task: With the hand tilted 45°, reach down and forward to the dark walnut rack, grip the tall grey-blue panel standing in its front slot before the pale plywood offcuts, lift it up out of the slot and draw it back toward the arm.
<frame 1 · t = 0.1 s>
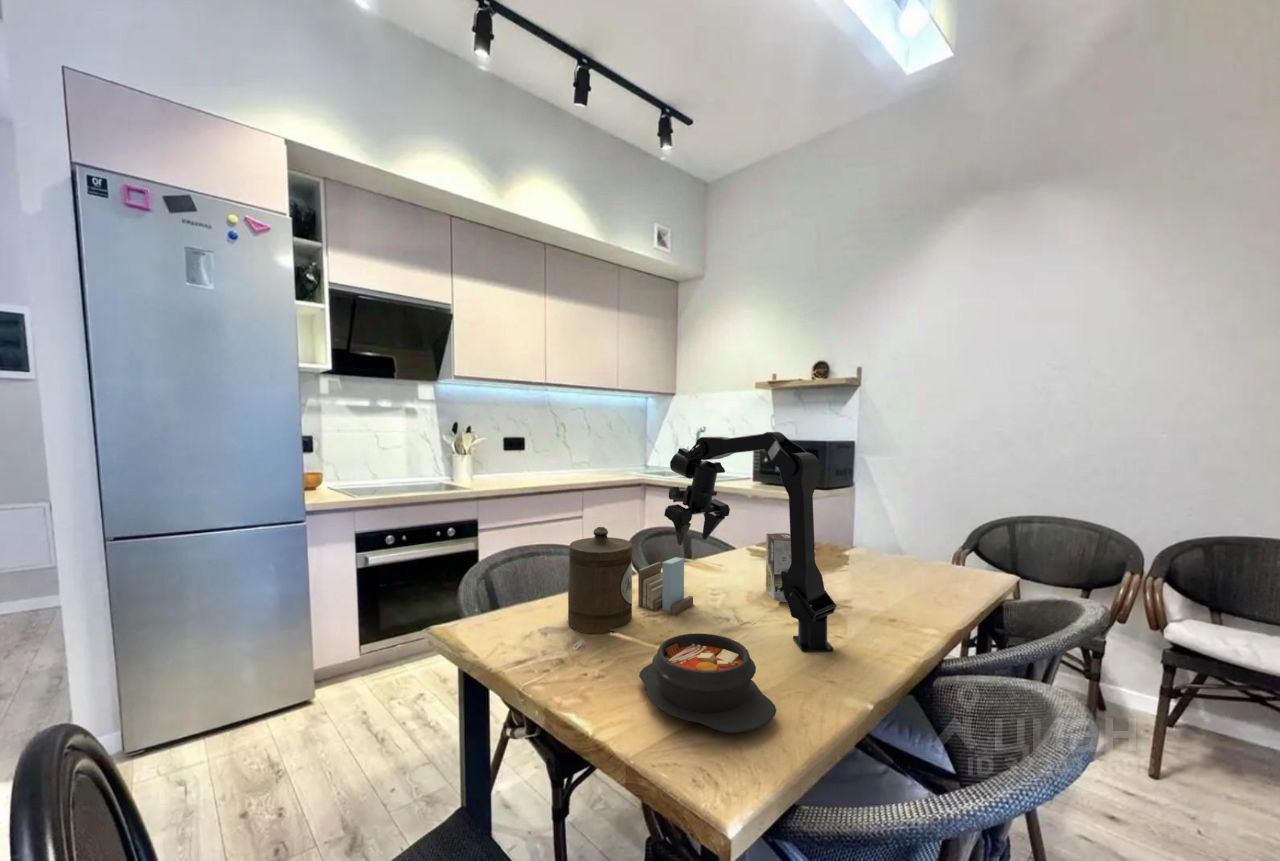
hand: (692, 541, 131), 15 cm above the table, tool pointing down, fingers open, 9 cm apart
grey-blue panel: (673, 607, 125), point 1 cm above the table, touching walnut rack
coffee box: (781, 597, 135), on the table
walnut rack: (673, 610, 125), on the table
casserole: (703, 702, 84), on the table
wooden container: (600, 622, 118), on the table
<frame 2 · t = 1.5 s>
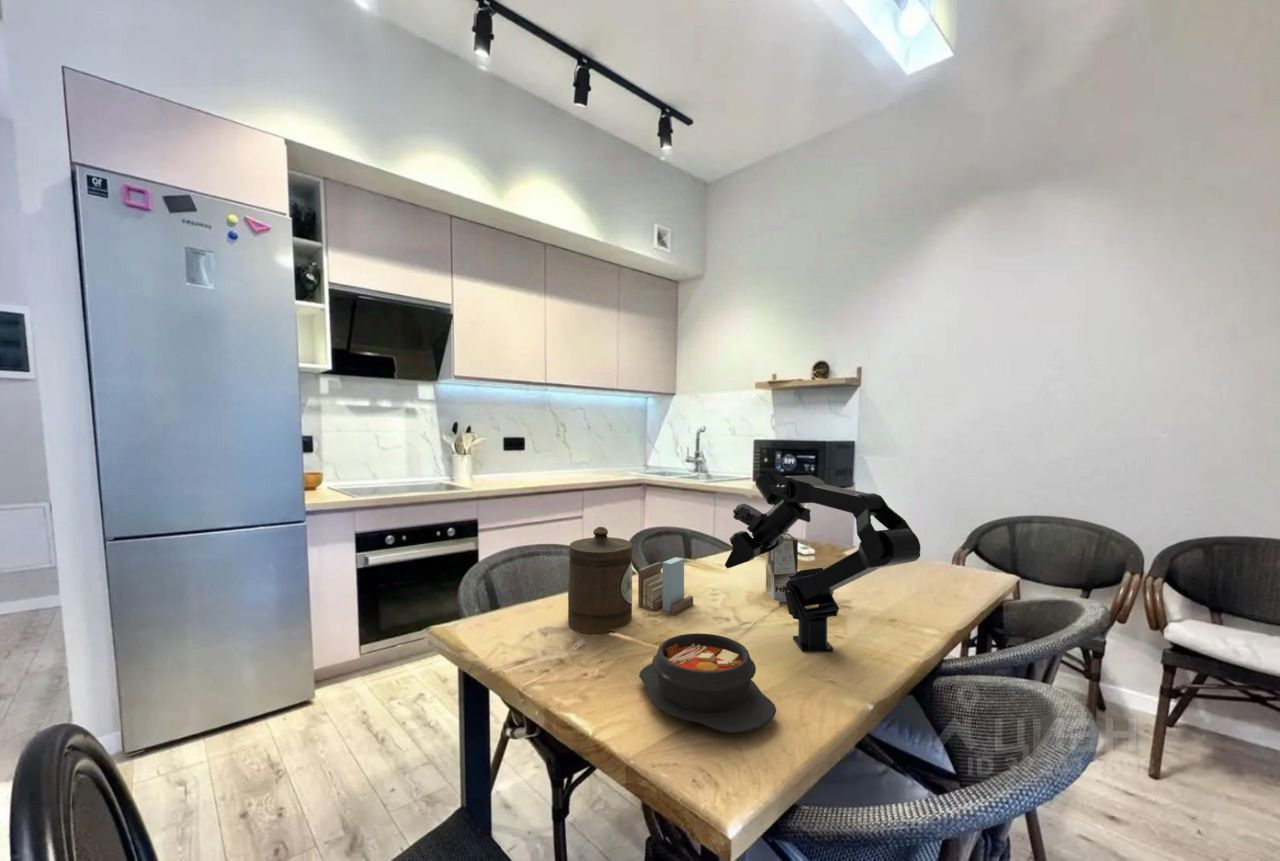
hand: (734, 562, 120), 13 cm above the table, tool tilted 45°, fingers open, 9 cm apart
nothing on the table moved.
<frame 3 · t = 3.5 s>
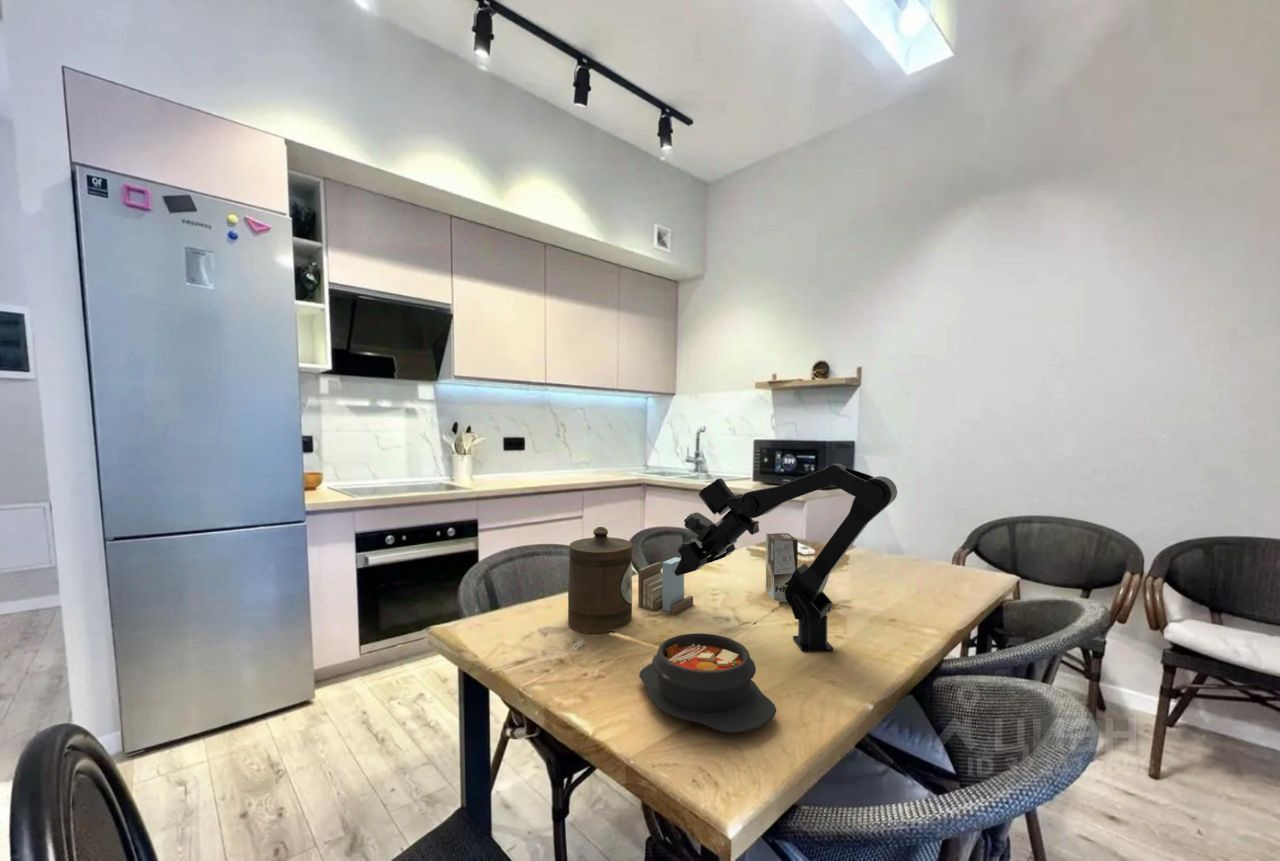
hand: (685, 569, 123), 11 cm above the table, tool tilted 45°, fingers open, 9 cm apart
nothing on the table moved.
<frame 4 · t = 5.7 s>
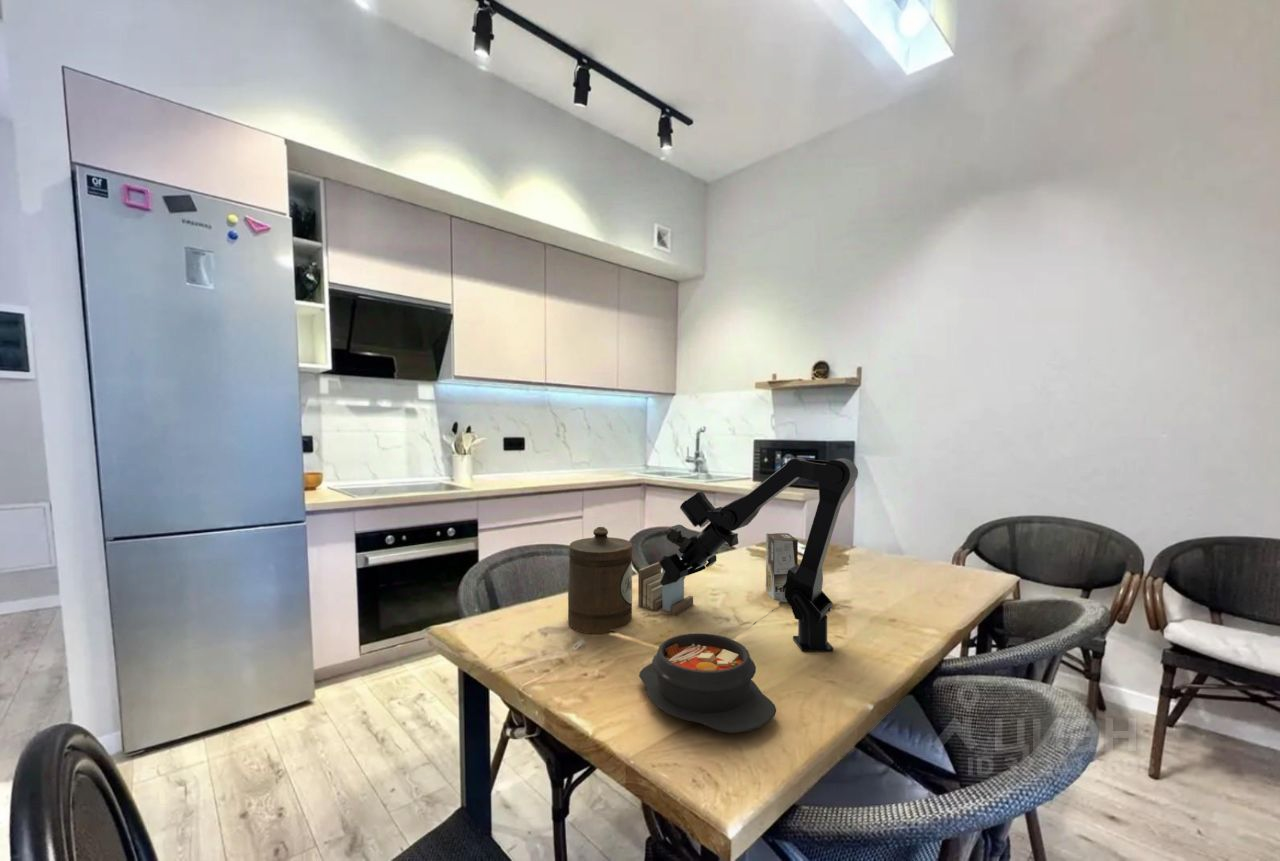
hand: (668, 580, 126), 7 cm above the table, tool tilted 45°, fingers closed on grey-blue panel, 6 cm apart
grey-blue panel: (673, 607, 125), point 1 cm above the table, touching gripper, walnut rack
everything else where it was.
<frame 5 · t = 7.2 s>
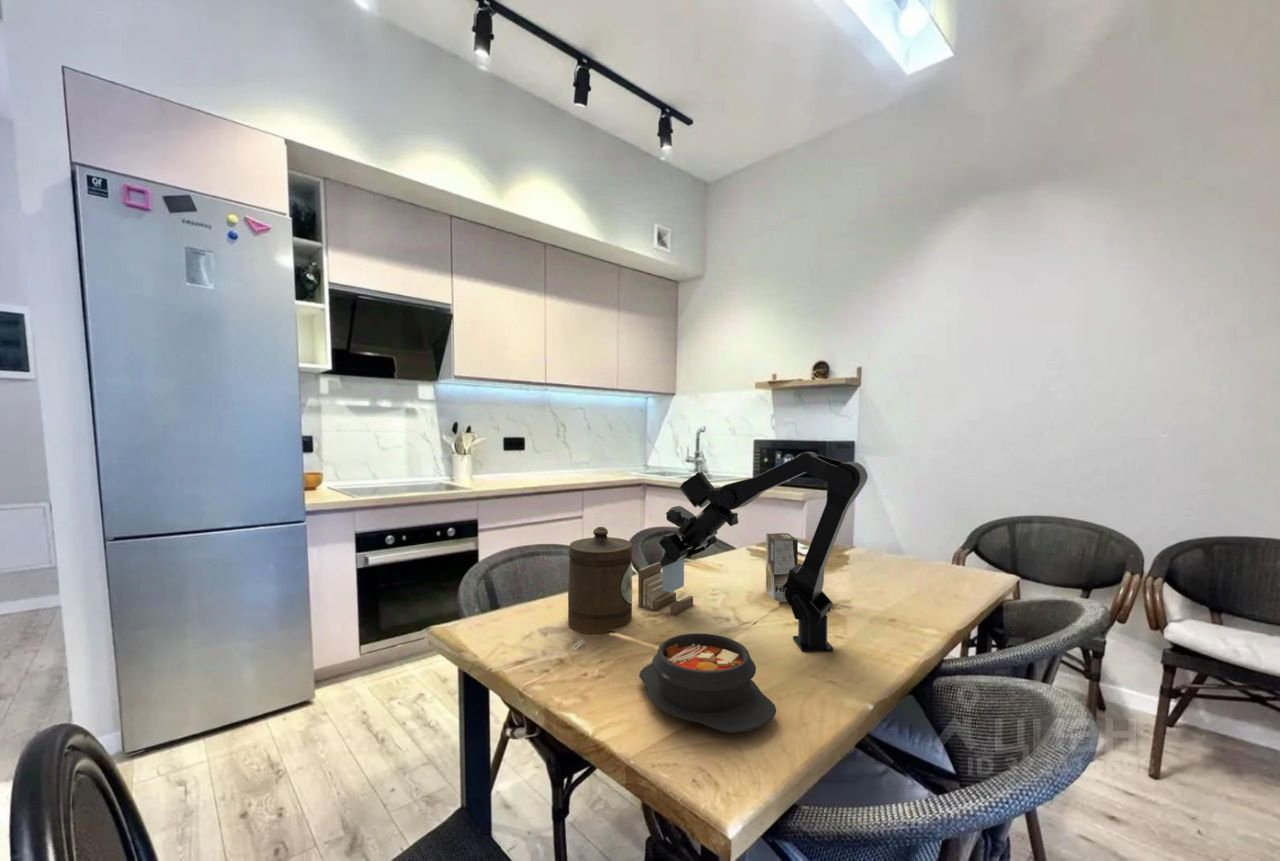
hand: (668, 561, 126), 12 cm above the table, tool tilted 45°, fingers closed on grey-blue panel, 6 cm apart
grey-blue panel: (673, 588, 125), point 5 cm above the table, touching gripper
everything else where it was.
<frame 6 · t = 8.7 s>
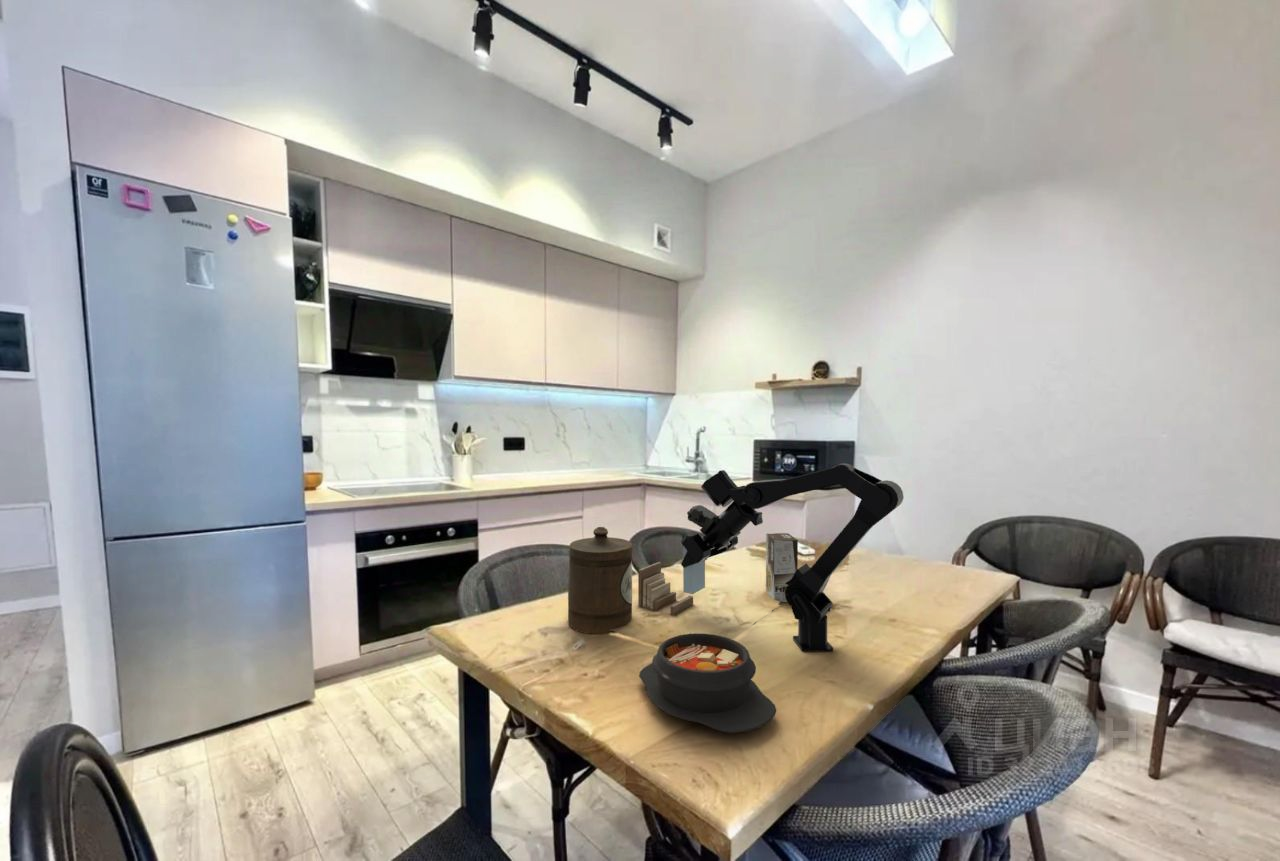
hand: (689, 562, 122), 12 cm above the table, tool tilted 45°, fingers closed on grey-blue panel, 6 cm apart
grey-blue panel: (694, 589, 121), point 6 cm above the table, touching gripper
everything else where it was.
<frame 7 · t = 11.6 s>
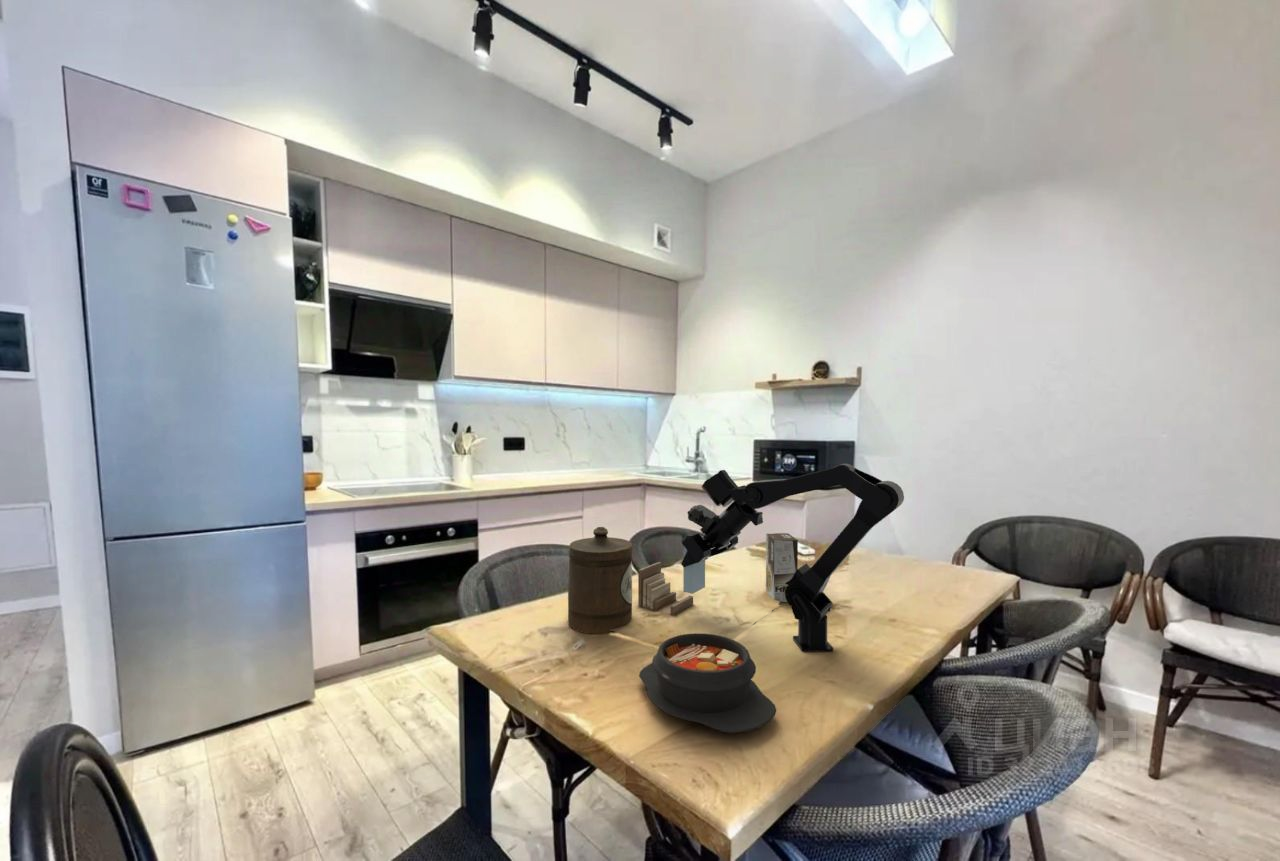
hand: (689, 562, 122), 13 cm above the table, tool tilted 45°, fingers closed on grey-blue panel, 6 cm apart
grey-blue panel: (694, 589, 121), point 6 cm above the table, touching gripper
everything else where it was.
at the end: the gripper is holding grey-blue panel; grey-blue panel inside the target area (0.4 cm from its centre), point 6.3 cm above the table; grey-blue panel touching gripper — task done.
